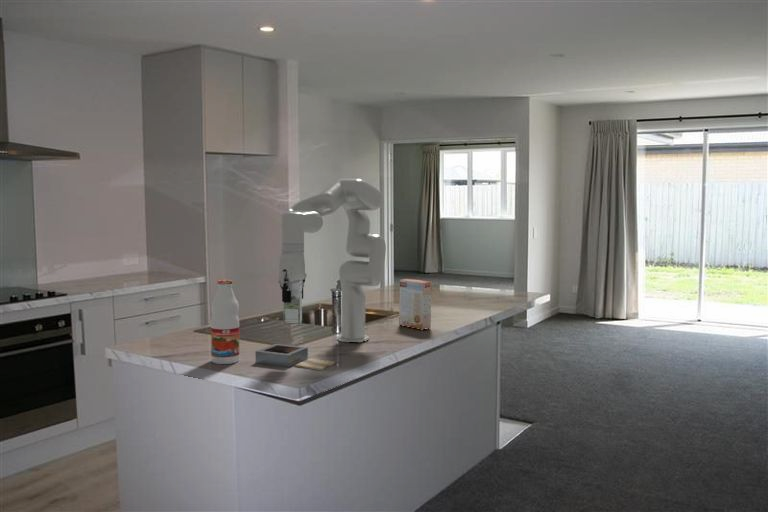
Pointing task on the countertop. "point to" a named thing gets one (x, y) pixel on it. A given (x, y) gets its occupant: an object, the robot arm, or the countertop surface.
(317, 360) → the cork coaster
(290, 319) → the syrup box
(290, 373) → the countertop surface
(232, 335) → the fruit juice
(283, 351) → the frame
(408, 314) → the cracker box
